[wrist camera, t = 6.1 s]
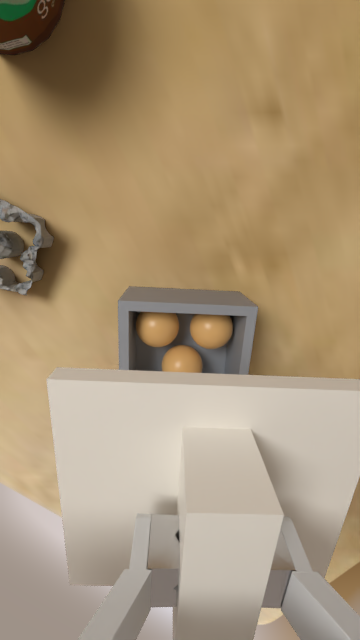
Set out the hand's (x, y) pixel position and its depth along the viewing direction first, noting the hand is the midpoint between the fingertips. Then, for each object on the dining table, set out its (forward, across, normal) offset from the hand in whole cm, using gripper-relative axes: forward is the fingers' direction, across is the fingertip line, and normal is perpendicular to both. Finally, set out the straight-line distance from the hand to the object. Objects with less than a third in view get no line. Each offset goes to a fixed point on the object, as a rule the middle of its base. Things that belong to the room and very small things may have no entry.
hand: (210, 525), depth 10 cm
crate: (+19, 0, 0) cm, 19 cm away
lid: (+2, 0, 0) cm, 2 cm away
